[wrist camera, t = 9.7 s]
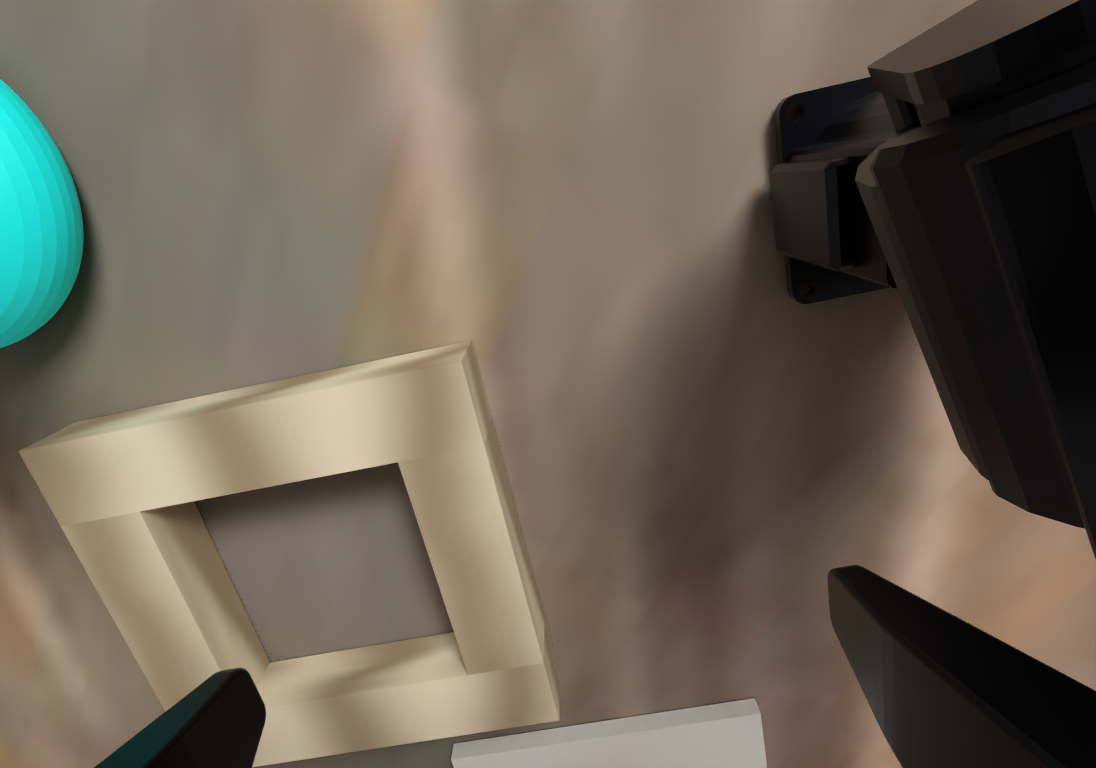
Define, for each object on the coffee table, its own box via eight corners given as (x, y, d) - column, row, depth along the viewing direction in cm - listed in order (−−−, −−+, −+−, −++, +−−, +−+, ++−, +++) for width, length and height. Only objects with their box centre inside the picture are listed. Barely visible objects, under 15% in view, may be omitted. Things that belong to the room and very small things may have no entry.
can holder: (471, 340, 21) (461, 361, 18) (558, 670, 26) (559, 720, 23) (75, 421, 22) (18, 451, 19) (232, 722, 27) (201, 775, 24)
